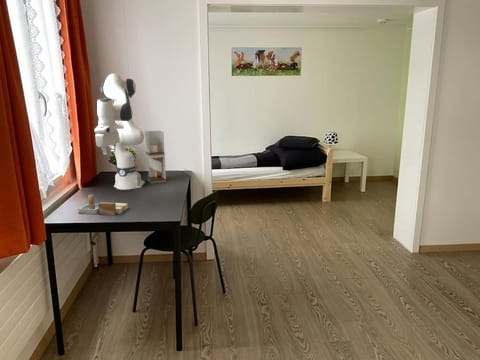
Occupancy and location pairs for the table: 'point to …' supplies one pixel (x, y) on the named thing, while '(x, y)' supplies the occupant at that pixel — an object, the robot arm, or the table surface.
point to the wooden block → (107, 208)
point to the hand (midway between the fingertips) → (109, 153)
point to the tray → (86, 209)
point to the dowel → (91, 201)
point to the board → (120, 207)
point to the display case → (155, 156)
